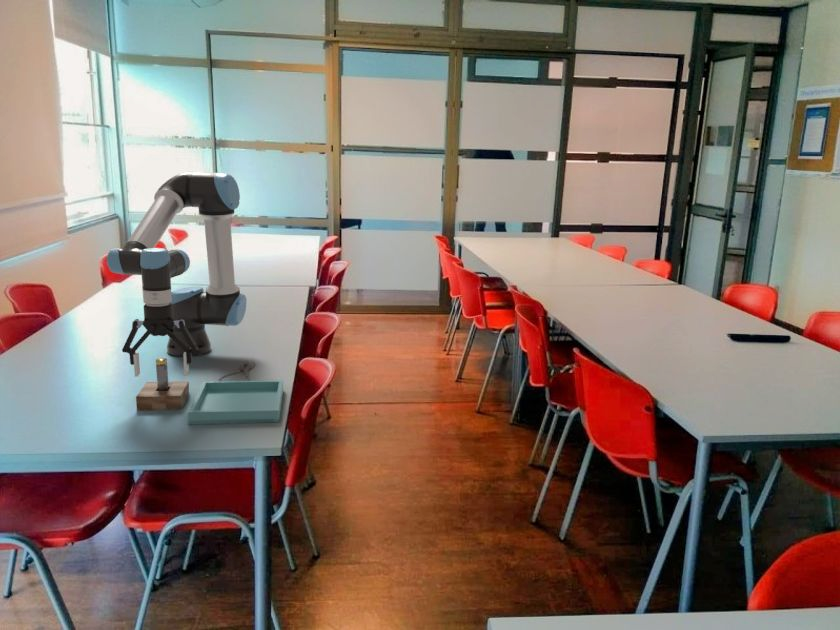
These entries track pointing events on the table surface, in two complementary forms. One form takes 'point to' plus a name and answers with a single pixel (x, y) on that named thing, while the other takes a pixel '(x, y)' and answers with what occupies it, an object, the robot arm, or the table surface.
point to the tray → (237, 402)
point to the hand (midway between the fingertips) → (162, 374)
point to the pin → (162, 374)
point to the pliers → (242, 368)
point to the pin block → (162, 396)
